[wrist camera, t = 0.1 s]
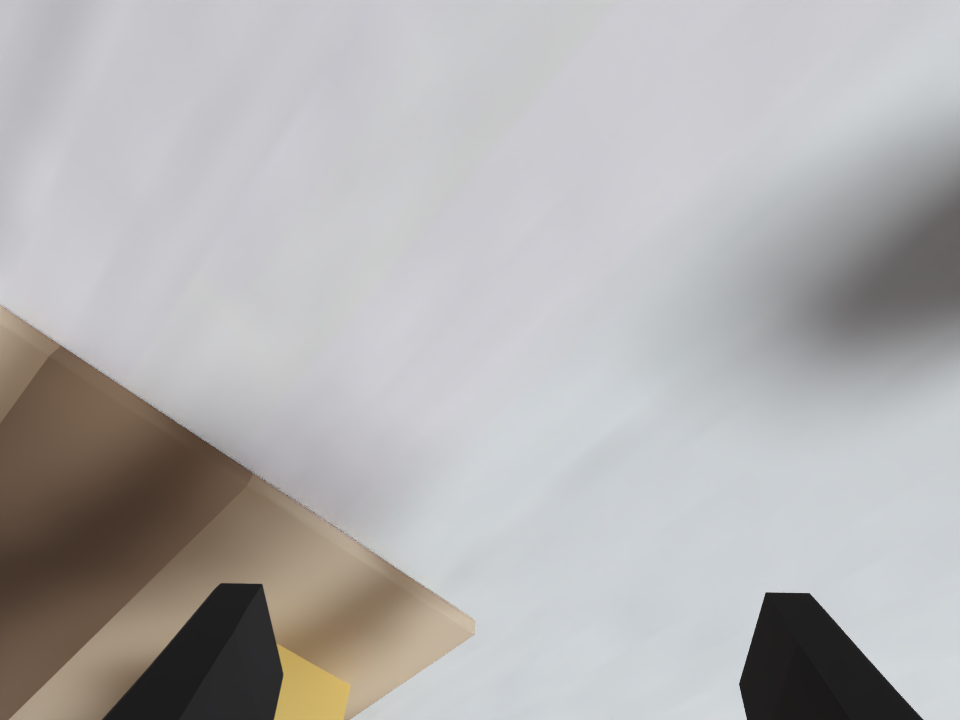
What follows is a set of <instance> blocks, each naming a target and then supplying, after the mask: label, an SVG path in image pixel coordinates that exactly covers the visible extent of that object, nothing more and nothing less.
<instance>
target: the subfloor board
mask: <svg viewBox="0 0 960 720" xmlns="http://www.w3.org/2000/svg"><path fill="white" fill-rule="evenodd" d="M220 583H245V584H263V589H264V593H265V597H266V601H267V606H268V610H269V614H270V618H271V623H272V627H273V631H274V635H275V640H276V643H277V644H279V645H281V646H282V647H284V648H286V649H288V650H289V651H291V652H293V653H295V654H296V655H298V656H300V657H301V658H303V659H305V660H307V661H308V662H310V663H312V664H314V665H315V666H317V667H319V668H321V669H322V670H324V671H326V672H328V673H329V674H331V675H333V676H335V677H336V678H338V679H340V680H342V681H343V682H345V683H347V684H349V685H350V691H349V696H348V701H347V705H346V710H345V715H344V720H350V719H351V718H353V717H354V716H356V715H357V714H359V713H360V712H361V711H363V710H364V709H366V708H367V707H369V706H370V705H372V704H373V703H375V702H376V701H378V700H379V699H381V698H382V697H384V696H385V695H386V694H388V693H389V692H391V691H392V690H394V689H395V688H397V687H398V686H400V685H401V684H403V683H404V682H406V681H407V680H409V679H410V678H412V677H413V676H414V675H416V674H417V673H419V672H420V671H422V670H423V669H425V668H426V667H428V666H429V665H431V664H432V663H434V662H435V661H437V660H438V659H439V658H441V657H442V656H444V655H445V654H447V653H448V652H450V651H451V650H453V649H454V648H456V647H457V646H459V645H460V644H462V643H463V642H465V641H466V640H467V639H469V638H470V637H472V636H473V635H475V620H473V619H472V618H470V617H469V616H467V615H466V614H464V613H463V612H461V611H460V610H458V609H457V608H455V607H454V606H452V605H451V604H449V603H448V602H446V601H445V600H443V599H442V598H440V597H439V596H437V595H436V594H434V593H433V592H431V591H430V590H428V589H427V588H425V587H424V586H422V585H421V584H419V583H418V582H416V581H415V580H413V579H412V578H410V577H408V576H407V575H405V574H404V573H402V572H401V571H399V570H398V569H396V568H395V567H393V566H392V565H390V564H389V563H387V562H386V561H384V560H383V559H381V558H380V557H378V556H377V555H375V554H374V553H372V552H371V551H369V550H368V549H366V548H365V547H363V546H362V545H360V544H359V543H357V542H356V541H354V540H353V539H351V538H350V537H348V536H347V535H345V534H344V533H342V532H341V531H339V530H338V529H336V528H335V527H333V526H332V525H330V524H329V523H327V522H326V521H324V520H323V519H321V518H320V517H318V516H317V515H315V514H314V513H312V512H311V511H309V510H308V509H306V508H305V507H303V506H302V505H300V504H299V503H297V502H296V501H294V500H292V499H291V498H289V497H288V496H286V495H285V494H283V493H282V492H280V491H279V490H277V489H276V488H274V487H273V486H271V485H270V484H268V483H267V482H265V481H264V480H262V479H261V478H259V477H258V476H256V475H255V474H253V473H252V472H250V471H249V470H247V469H246V468H244V467H243V466H241V465H240V464H238V463H237V462H235V461H234V460H232V459H231V458H229V457H228V456H226V455H225V454H223V453H222V452H220V451H219V450H217V449H216V448H214V447H213V446H211V445H210V444H208V443H207V442H205V441H204V440H202V439H201V438H199V437H198V436H196V435H195V434H193V433H192V432H190V431H189V430H187V429H186V428H184V427H183V426H181V425H179V424H178V423H176V422H175V421H173V420H172V419H170V418H169V417H167V416H166V415H164V414H163V413H161V412H160V411H158V410H157V409H155V408H154V407H152V406H151V405H149V404H148V403H146V402H145V401H143V400H142V399H140V398H139V397H137V396H136V395H134V394H133V393H131V392H130V391H128V390H127V389H125V388H124V387H122V386H121V385H119V384H118V383H116V382H115V381H113V380H112V379H110V378H109V377H107V376H106V375H104V374H103V373H101V372H100V371H98V370H97V369H95V368H94V367H92V366H91V365H89V364H88V363H86V362H85V361H83V360H82V359H80V358H79V357H77V356H76V355H74V354H73V353H71V352H70V351H68V350H66V349H65V348H63V347H62V346H60V345H59V344H57V343H56V342H54V341H53V340H51V339H50V338H48V337H47V336H45V335H44V334H42V333H41V332H39V331H38V330H36V329H35V328H33V327H32V326H30V325H29V324H27V323H26V322H24V321H23V320H21V319H20V318H18V317H17V316H15V315H14V314H12V313H11V312H9V311H8V310H6V309H5V308H3V307H2V306H0V720H102V719H103V718H104V717H105V716H106V714H107V713H108V712H109V711H110V710H111V709H112V708H113V707H114V705H115V704H116V703H117V702H118V701H119V700H120V699H121V698H122V696H123V695H124V694H125V693H126V692H127V691H128V690H129V689H130V688H131V686H132V685H133V684H134V683H135V682H136V681H137V680H138V679H139V677H140V676H141V675H142V674H143V673H144V672H145V671H146V669H147V668H148V667H149V666H150V665H151V664H152V662H153V661H154V660H155V659H156V658H157V657H158V655H159V654H160V653H161V652H162V651H163V650H164V648H165V647H166V646H167V645H168V644H169V643H170V641H171V640H172V639H173V638H174V637H175V635H176V634H177V633H178V632H179V631H180V629H181V628H182V627H183V626H184V625H185V624H186V622H187V621H188V620H189V619H190V618H191V616H192V615H193V614H194V613H195V612H196V610H197V609H198V608H199V607H200V606H201V604H202V603H203V602H204V601H205V600H206V598H207V597H208V596H209V595H210V594H211V592H212V591H213V590H214V589H215V588H216V587H217V586H218V585H219V584H220Z"/></svg>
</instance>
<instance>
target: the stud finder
mask: <svg viewBox="0 0 960 720" xmlns="http://www.w3.org/2000/svg"><path fill="white" fill-rule="evenodd" d="M276 644H277V643H276ZM277 648H278V653H279V657H280V661H281V665H282V670H283V674H284V675H283V680H282V685H281V689H280V694H279V699H278V704H277V708H276V713H275V717H274V720H344V715H345V710H346V705H347V701H348V696H349V691H350V685H349V684H347V683H345V682H343V681H342V680H340V679H338V678H336V677H335V676H333V675H331V674H329V673H328V672H326V671H324V670H322V669H321V668H319V667H317V666H315V665H314V664H312V663H310V662H308V661H307V660H305V659H303V658H301V657H300V656H298V655H296V654H295V653H293V652H291V651H289V650H288V649H286V648H284V647H282V646H281V645H279V644H277Z"/></svg>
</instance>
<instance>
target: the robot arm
mask: <svg viewBox="0 0 960 720" xmlns="http://www.w3.org/2000/svg"><path fill="white" fill-rule="evenodd" d="M283 675H284V674H283V670H282V665H281V661H280V657H279V653H278V648H277V644H276V640H275V635H274V631H273V627H272V623H271V618H270V614H269V610H268V606H267V601H266V597H265V593H264V589H263V584H245V583H220V584H219V585H218V586H217V587H216V588H215V589H214V590H213V591H212V592H211V594H210V595H209V596H208V597H207V598H206V600H205V601H204V602H203V603H202V604H201V606H200V607H199V608H198V609H197V610H196V612H195V613H194V614H193V615H192V616H191V618H190V619H189V620H188V621H187V622H186V624H185V625H184V626H183V627H182V628H181V629H180V631H179V632H178V633H177V634H176V635H175V637H174V638H173V639H172V640H171V641H170V643H169V644H168V645H167V646H166V647H165V648H164V650H163V651H162V652H161V653H160V654H159V655H158V657H157V658H156V659H155V660H154V661H153V662H152V664H151V665H150V666H149V667H148V668H147V669H146V671H145V672H144V673H143V674H142V675H141V676H140V677H139V679H138V680H137V681H136V682H135V683H134V684H133V685H132V686H131V688H130V689H129V690H128V691H127V692H126V693H125V694H124V695H123V696H122V698H121V699H120V700H119V701H118V702H117V703H116V704H115V705H114V707H113V708H112V709H111V710H110V711H109V712H108V713H107V714H106V716H105V717H104V718H103V719H102V720H274V717H275V713H276V708H277V704H278V699H279V694H280V689H281V685H282V680H283ZM739 686H740V690H741V695H742V699H743V704H744V708H745V712H746V717H747V720H923V719H922V718H921V717H920V716H919V715H918V714H917V712H916V711H915V710H914V709H913V708H912V707H911V706H910V705H909V704H908V703H907V702H906V701H905V699H904V698H903V697H902V696H901V695H900V694H899V693H898V692H897V691H896V690H895V689H894V687H893V686H892V685H891V684H890V683H889V682H888V681H887V680H886V678H885V677H884V676H883V675H882V674H881V673H880V672H879V671H878V670H877V668H876V667H875V666H874V665H873V664H872V663H871V662H870V661H869V660H868V658H867V657H866V656H865V655H864V654H863V653H862V652H861V651H860V649H859V648H858V647H857V646H856V645H855V644H854V643H853V641H852V640H851V639H850V638H849V637H848V636H847V635H846V634H845V632H844V631H843V630H842V629H841V628H840V627H839V626H838V624H837V623H836V622H835V621H834V620H833V619H832V618H831V617H830V615H829V614H828V613H827V612H826V611H825V610H824V609H823V608H822V606H821V605H820V604H819V603H818V602H817V601H816V600H815V599H814V598H813V597H812V596H811V594H810V593H766V594H765V597H764V600H763V604H762V607H761V611H760V614H759V618H758V621H757V624H756V628H755V631H754V635H753V638H752V642H751V645H750V649H749V652H748V655H747V659H746V662H745V666H744V669H743V673H742V676H741V679H740V683H739Z"/></svg>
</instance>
